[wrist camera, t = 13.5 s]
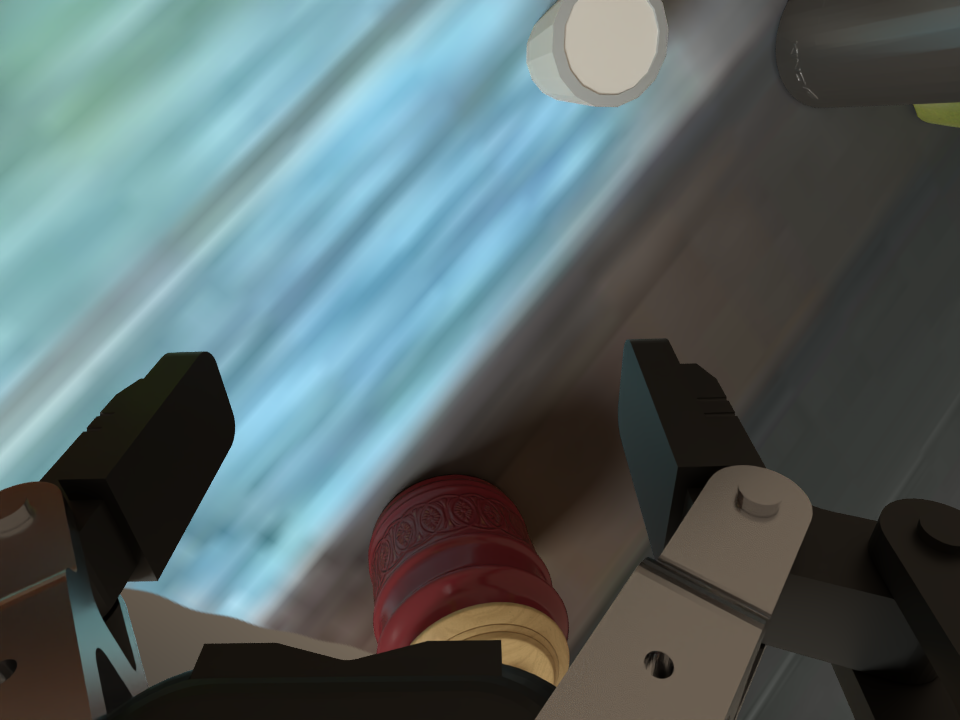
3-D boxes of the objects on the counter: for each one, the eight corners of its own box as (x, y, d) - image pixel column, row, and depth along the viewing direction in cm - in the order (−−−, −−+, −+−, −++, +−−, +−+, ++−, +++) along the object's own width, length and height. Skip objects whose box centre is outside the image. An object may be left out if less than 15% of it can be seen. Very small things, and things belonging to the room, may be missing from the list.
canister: (478, 441, 48) (551, 598, 32) (544, 550, 53) (634, 732, 37) (336, 523, 48) (336, 723, 32) (416, 625, 53) (451, 840, 37)
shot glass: (621, 100, 41) (673, 94, 35) (525, 120, 40) (561, 118, 34) (611, -15, 39) (665, -44, 32) (508, 3, 38) (543, -22, 31)
